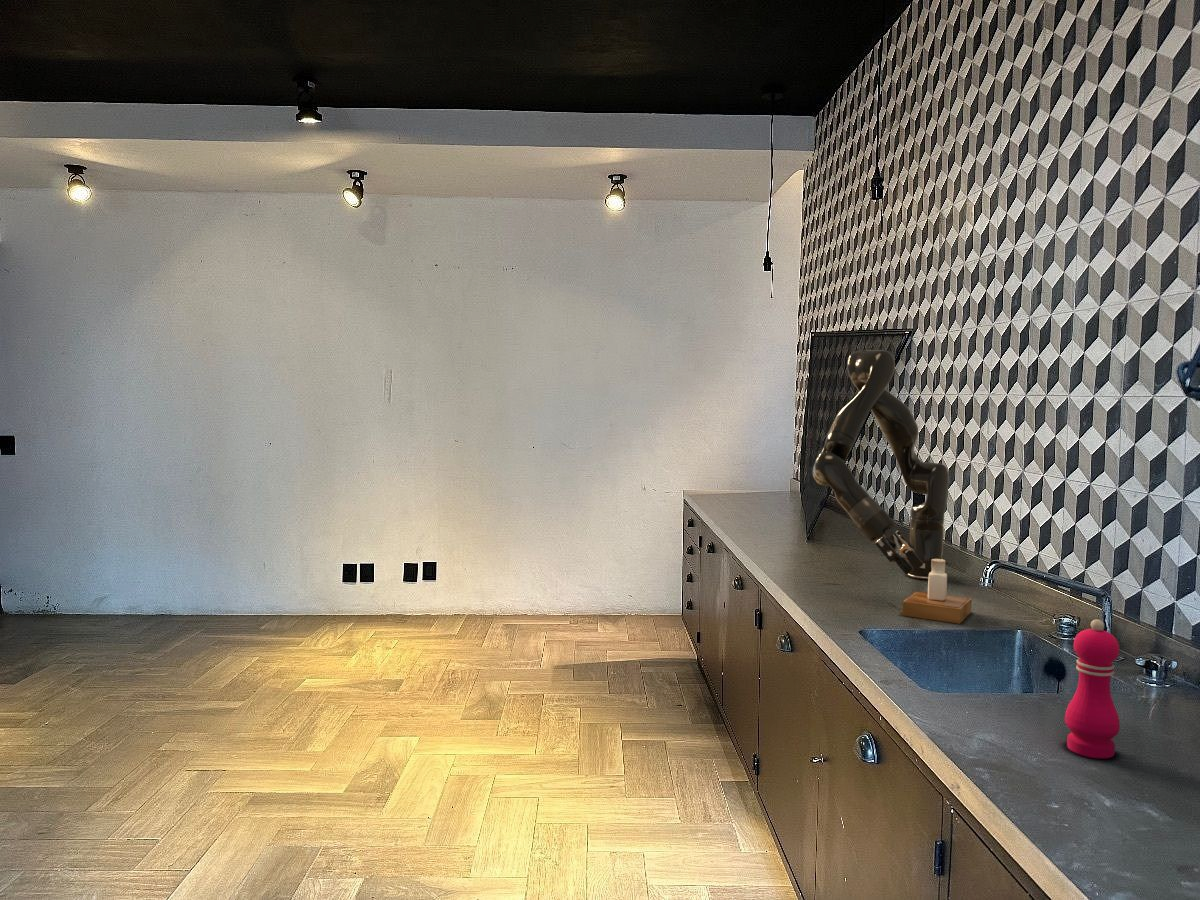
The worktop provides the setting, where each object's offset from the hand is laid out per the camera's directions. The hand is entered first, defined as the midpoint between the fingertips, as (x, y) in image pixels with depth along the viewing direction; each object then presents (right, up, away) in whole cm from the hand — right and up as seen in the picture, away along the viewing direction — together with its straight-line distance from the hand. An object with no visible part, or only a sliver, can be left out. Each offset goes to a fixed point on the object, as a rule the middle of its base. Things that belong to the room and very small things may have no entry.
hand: (915, 569), depth 221 cm
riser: (+4, -10, -2) cm, 12 cm away
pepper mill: (-3, -16, -85) cm, 87 cm away
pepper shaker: (+4, -7, -3) cm, 9 cm away
